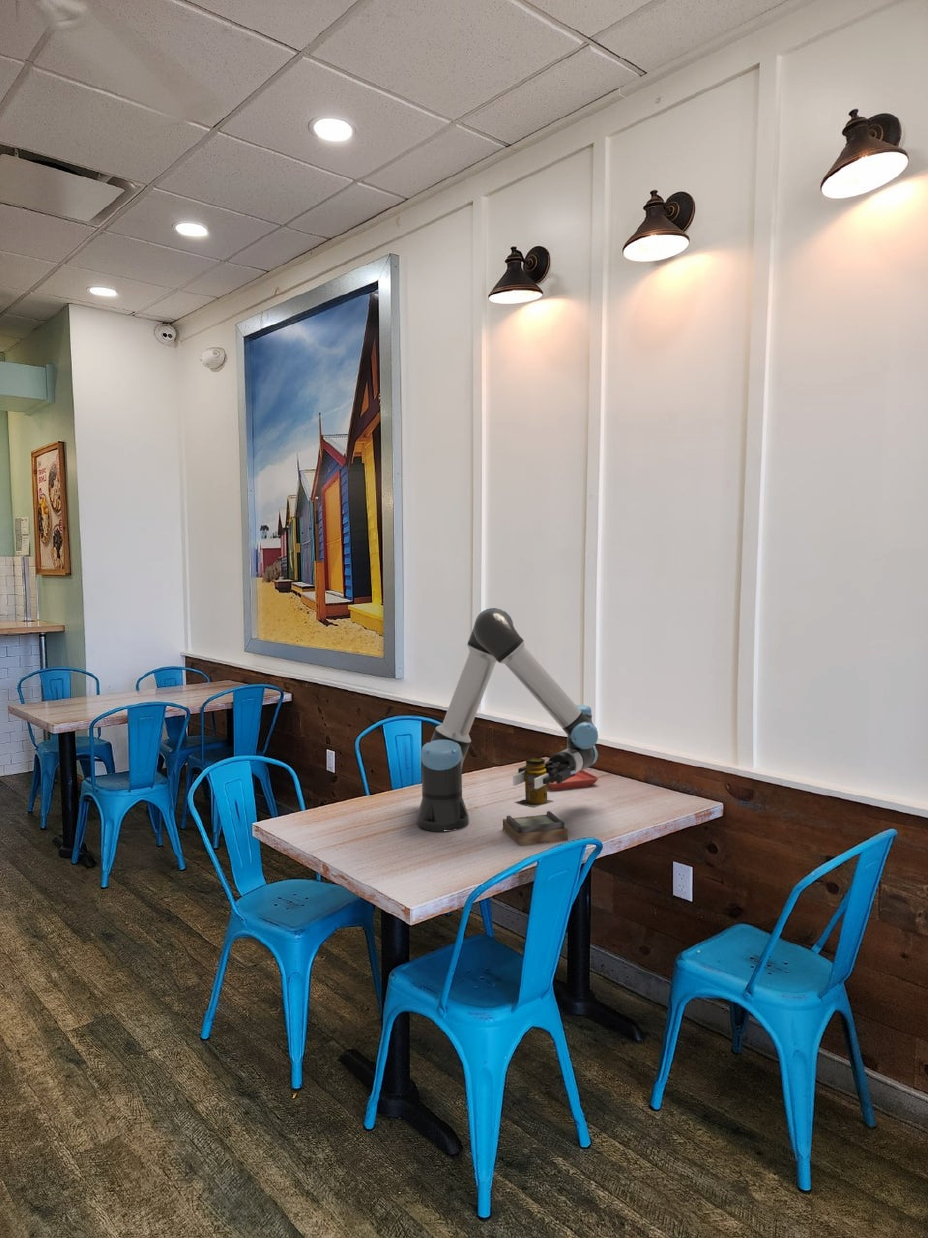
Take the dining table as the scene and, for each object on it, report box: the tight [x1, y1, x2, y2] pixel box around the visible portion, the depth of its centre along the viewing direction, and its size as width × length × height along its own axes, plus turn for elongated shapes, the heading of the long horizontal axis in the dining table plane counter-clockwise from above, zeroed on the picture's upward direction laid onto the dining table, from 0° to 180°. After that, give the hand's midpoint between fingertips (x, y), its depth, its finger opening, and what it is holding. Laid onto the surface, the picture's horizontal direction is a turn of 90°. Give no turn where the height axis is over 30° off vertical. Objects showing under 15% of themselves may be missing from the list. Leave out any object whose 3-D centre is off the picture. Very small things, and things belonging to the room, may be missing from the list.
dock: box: [502, 810, 569, 846], centre depth 223 cm, size 14×14×4 cm
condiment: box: [514, 757, 554, 809], centre depth 222 cm, size 7×8×12 cm
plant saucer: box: [547, 769, 599, 791], centre depth 276 cm, size 18×18×3 cm
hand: (524, 782), depth 218 cm, fingers closed on condiment, 6 cm apart
